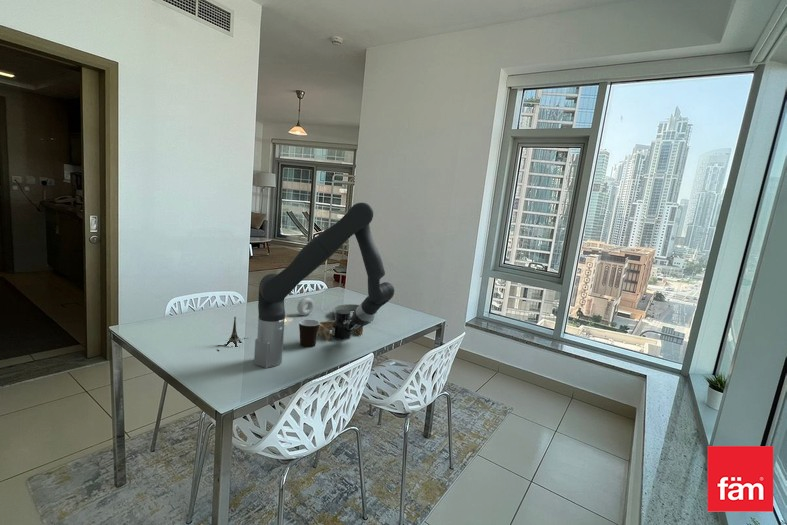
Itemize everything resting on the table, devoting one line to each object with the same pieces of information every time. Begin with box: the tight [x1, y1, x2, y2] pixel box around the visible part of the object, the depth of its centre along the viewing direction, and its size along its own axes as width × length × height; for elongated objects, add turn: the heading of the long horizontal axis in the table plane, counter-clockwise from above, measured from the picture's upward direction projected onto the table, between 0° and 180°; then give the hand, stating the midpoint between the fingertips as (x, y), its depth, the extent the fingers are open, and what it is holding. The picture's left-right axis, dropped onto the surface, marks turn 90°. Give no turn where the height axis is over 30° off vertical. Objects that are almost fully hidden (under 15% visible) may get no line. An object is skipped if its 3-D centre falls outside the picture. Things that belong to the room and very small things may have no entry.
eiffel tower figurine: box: [224, 316, 243, 348], centre depth 152 cm, size 15×10×13 cm
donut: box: [296, 297, 315, 317], centre depth 199 cm, size 10×4×10 cm, turn 139°
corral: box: [318, 320, 364, 341], centre depth 178 cm, size 12×18×4 cm, turn 125°
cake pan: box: [332, 303, 378, 323], centre depth 205 cm, size 25×25×4 cm
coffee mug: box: [298, 318, 321, 349], centre depth 161 cm, size 12×9×10 cm
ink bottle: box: [331, 310, 352, 340], centre depth 174 cm, size 10×9×12 cm
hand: (348, 330), depth 171 cm, fingers closed
